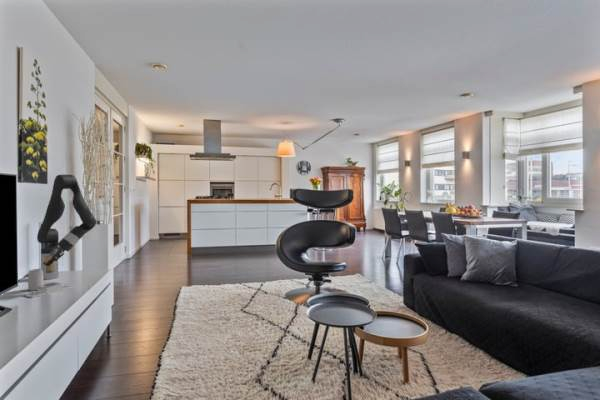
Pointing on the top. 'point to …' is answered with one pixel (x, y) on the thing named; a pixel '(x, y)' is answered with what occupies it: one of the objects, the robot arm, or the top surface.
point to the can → (35, 279)
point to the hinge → (49, 289)
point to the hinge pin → (51, 267)
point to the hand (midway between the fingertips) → (45, 265)
